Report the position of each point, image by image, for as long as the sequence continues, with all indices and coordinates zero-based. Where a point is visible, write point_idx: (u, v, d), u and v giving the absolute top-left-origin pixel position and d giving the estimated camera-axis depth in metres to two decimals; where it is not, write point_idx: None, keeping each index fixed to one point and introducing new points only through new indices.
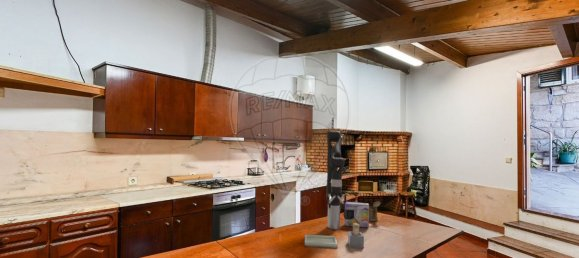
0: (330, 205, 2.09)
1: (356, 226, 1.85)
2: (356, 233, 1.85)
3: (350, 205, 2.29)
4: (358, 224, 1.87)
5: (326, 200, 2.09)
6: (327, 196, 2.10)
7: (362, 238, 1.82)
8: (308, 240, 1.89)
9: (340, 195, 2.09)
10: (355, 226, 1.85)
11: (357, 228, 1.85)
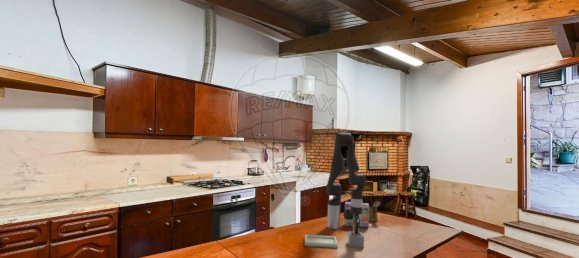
0: None
1: None
2: None
3: (350, 205, 2.29)
4: None
5: None
6: (359, 222, 1.82)
7: (362, 238, 1.82)
8: (308, 240, 1.89)
9: None
10: None
11: None
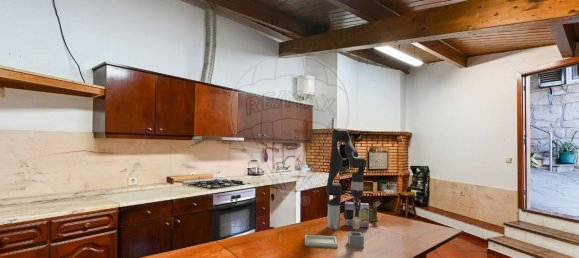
0: (358, 212, 1.85)
1: None
2: None
3: (350, 205, 2.29)
4: None
5: (359, 208, 1.83)
6: None
7: (362, 238, 1.82)
8: (308, 240, 1.89)
9: None
10: None
11: None
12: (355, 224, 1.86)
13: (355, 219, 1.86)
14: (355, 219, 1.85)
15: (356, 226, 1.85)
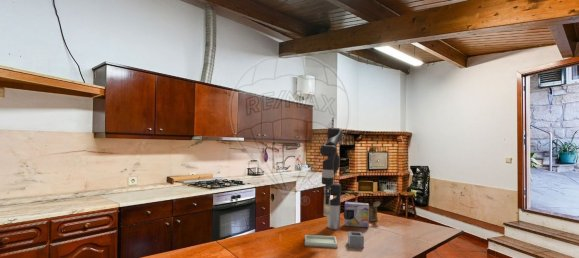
0: None
1: None
2: None
3: (350, 205, 2.29)
4: None
5: (329, 196, 1.84)
6: (329, 192, 1.83)
7: (362, 238, 1.82)
8: (308, 240, 1.89)
9: None
10: None
11: None
12: (325, 212, 1.87)
13: (325, 207, 1.87)
14: (326, 207, 1.87)
15: (326, 213, 1.87)
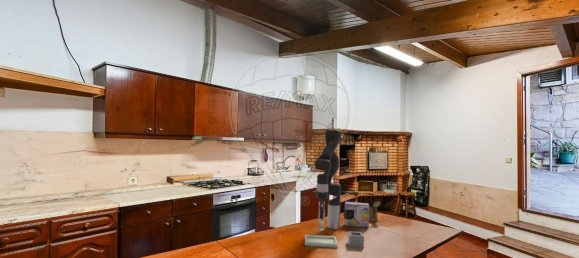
0: None
1: None
2: None
3: (350, 205, 2.29)
4: (324, 209, 1.89)
5: (323, 210, 1.84)
6: (324, 206, 1.83)
7: (362, 238, 1.82)
8: (308, 240, 1.89)
9: None
10: None
11: None
12: (320, 226, 1.87)
13: (320, 221, 1.87)
14: (320, 221, 1.87)
15: (321, 228, 1.87)
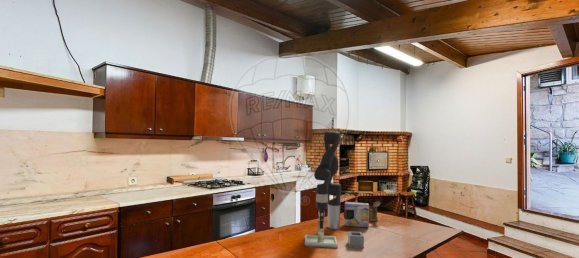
0: None
1: None
2: (321, 229, 1.87)
3: (350, 205, 2.29)
4: None
5: (323, 220, 1.82)
6: (323, 215, 1.83)
7: (362, 238, 1.82)
8: (308, 240, 1.89)
9: None
10: None
11: None
12: (319, 238, 1.87)
13: (319, 233, 1.87)
14: (320, 233, 1.87)
15: (320, 240, 1.86)
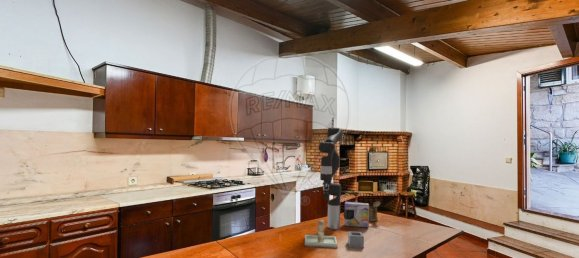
0: (327, 195, 1.88)
1: (321, 222, 1.87)
2: (321, 229, 1.87)
3: (350, 205, 2.29)
4: (323, 221, 1.89)
5: (328, 191, 1.85)
6: (328, 186, 1.86)
7: (362, 238, 1.82)
8: (308, 240, 1.89)
9: None
10: (320, 223, 1.87)
11: (322, 224, 1.87)
12: (319, 238, 1.87)
13: (319, 233, 1.87)
14: (320, 233, 1.87)
15: (320, 240, 1.86)
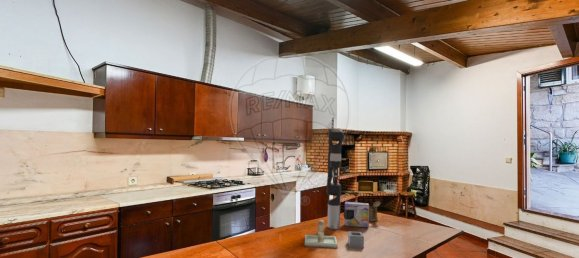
0: None
1: (321, 222, 1.87)
2: (321, 229, 1.87)
3: (350, 205, 2.29)
4: (323, 221, 1.89)
5: (337, 177, 1.93)
6: None
7: (362, 238, 1.82)
8: (308, 240, 1.89)
9: None
10: (320, 222, 1.87)
11: (322, 224, 1.87)
12: (319, 238, 1.87)
13: (319, 233, 1.87)
14: (320, 233, 1.87)
15: (320, 240, 1.86)
